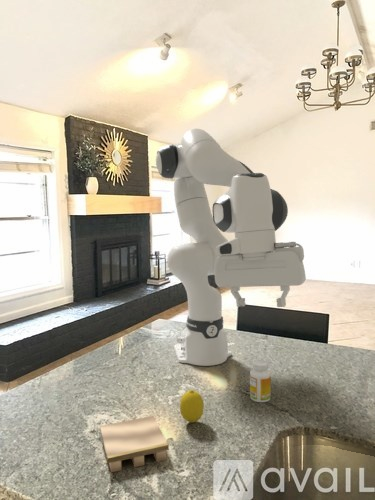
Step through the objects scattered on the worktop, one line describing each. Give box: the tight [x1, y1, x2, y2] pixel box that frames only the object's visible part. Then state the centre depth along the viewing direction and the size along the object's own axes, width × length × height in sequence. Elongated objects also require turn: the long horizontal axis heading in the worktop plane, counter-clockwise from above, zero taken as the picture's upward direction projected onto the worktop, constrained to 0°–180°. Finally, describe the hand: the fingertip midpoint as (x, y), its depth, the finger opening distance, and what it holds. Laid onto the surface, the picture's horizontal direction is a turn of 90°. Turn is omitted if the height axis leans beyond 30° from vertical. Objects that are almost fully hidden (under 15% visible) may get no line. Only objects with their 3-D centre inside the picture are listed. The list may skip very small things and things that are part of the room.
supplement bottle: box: [249, 359, 272, 403], centre depth 103 cm, size 5×5×10 cm
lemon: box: [179, 389, 205, 424], centre depth 92 cm, size 6×6×8 cm
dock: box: [99, 415, 170, 473], centre depth 82 cm, size 12×12×3 cm
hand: (260, 306), depth 87 cm, fingers open, 8 cm apart
